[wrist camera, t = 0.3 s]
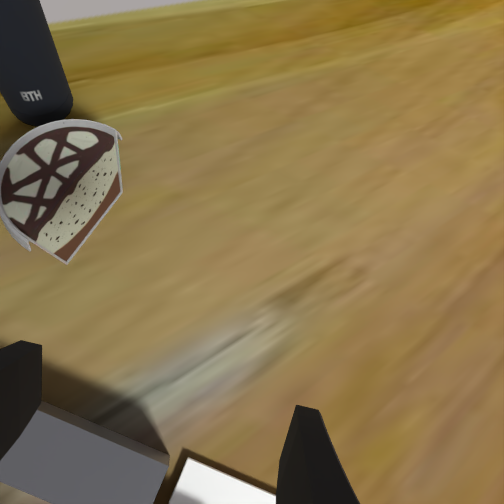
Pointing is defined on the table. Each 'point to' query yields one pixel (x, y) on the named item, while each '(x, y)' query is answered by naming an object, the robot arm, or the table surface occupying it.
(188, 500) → the stand
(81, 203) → the food container
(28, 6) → the black bottle
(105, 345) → the table surface
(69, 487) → the glasses case
